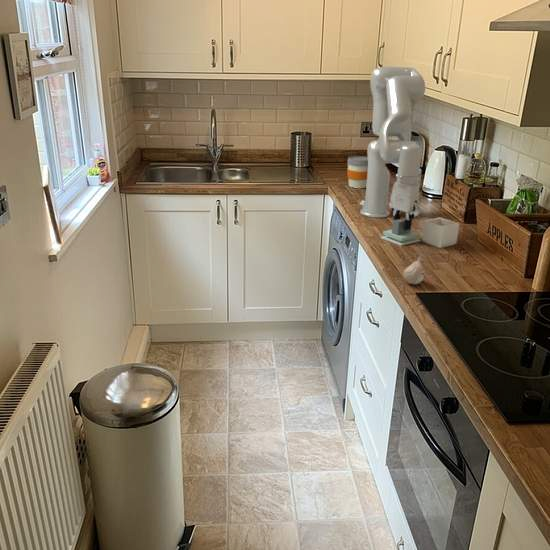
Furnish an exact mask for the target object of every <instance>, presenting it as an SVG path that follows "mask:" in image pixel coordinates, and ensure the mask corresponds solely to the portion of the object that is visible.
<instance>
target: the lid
mask: <svg viewBox="0 0 550 550" xmlns="http://www.w3.org/2000/svg"><path fill="white" fill-rule="evenodd" d="M405 220H406V217H404V218H402V217H401V219H397V220H394V219H393V220H392V227H391V228H392V229H387V230H382V236H388V238H391V239H394V240H396V241H399V242H404V241H408V240H412V239H414V238H417V239H418V238H419V237H420V234H419V233H417V232H414V231H411V229H412V228H411V229H409V230H404V223H405Z"/></svg>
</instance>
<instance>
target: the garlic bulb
mask: <svg viewBox="0 0 550 550" xmlns="http://www.w3.org/2000/svg"><path fill="white" fill-rule="evenodd" d="M422 261H423V257H421V256H420V255H419V256H418V258H417V260H415V261H413V263H412V262H411V264H410V265H409V266H407V267H406V268H404V270H403V275H402V276H403V278H404V280H405V281H406V283H408V284H409V285H418V284H420V283H422V281H423V280H424V276H425V272H424V267H423V265H422V263H421V262H422Z"/></svg>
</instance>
